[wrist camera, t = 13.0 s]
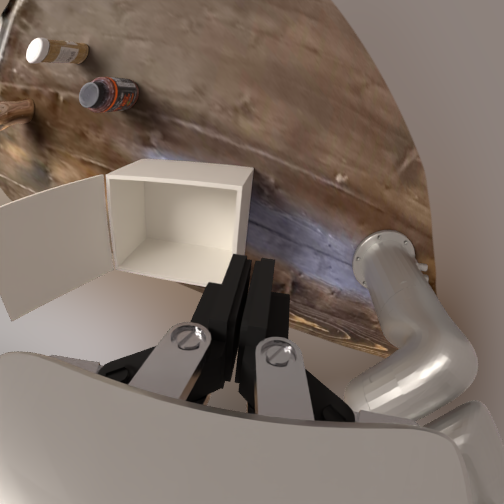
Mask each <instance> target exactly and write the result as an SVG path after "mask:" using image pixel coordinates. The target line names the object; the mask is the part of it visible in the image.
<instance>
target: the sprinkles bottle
mask: <svg viewBox="0 0 504 504" xmlns="http://www.w3.org/2000/svg"><path fill="white" fill-rule="evenodd" d="M87 55H88V46H87V45H86V44H85V43H75V42H69V41H57V40H48V39H46V38H36V39H34V40H33V41H32V42H31V44H30V45H29V47H28V49H27V54H26V58H27V61H28V62H29V63H39V62H49V63H75V64H79V63H82V62H83V61H84V60H85V59H86V57H87Z"/></svg>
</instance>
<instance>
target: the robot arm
mask: <svg viewBox="0 0 504 504" xmlns="http://www.w3.org/2000/svg"><path fill="white" fill-rule="evenodd" d="M378 236H379V237H378ZM357 257H358V258H357ZM251 262H252V260H248V259H247V256H245V255H239V254H233V256H232V258H231V261H230V263H229V266H228V269H227V271H226V274H225V276H224V279H223V282H222V284H218V283H212V282H208V284H207V286H206V288H205V290H204V293H203V295H202V297H201V299H200V302H199V304H198V306H197V309H196V311H195V313H194V315H193V317H192V320H191V322H183V323H179V324H176V325H175V326H172V327H171V328H170V329H169V330H168V331H167V333H166V334H165V335H164V337H163V338H162V340H161V341H160V342H159V343H158V345H157V346H155V347H152V348H149V349H146V350H144V351H141V352H138V353H135V354H132V355H129V356H126V357H123V358H120V359H117V360H114V361H111V362H109V363H107V364H105V365H104V366H101V365H100V363H99V362H94V361H86V360H80V359H74V358H68V357H62V356H56V355H55V356H54V355H52V356H45V355H42V354H37V353H31V352H19V351H17V352H8V353H5V354H2V355H0V504H504V446H503V443H502V441H501V438H500V435H499V432H498V430H497V427H496V425H495V422H494V420H493V418H492V416H491V414H490V412H489V410H488V409H487V407H486V406H485V405H484V404H483V403H482V402H480V401H476V400H475V401H469V402H467V403H465V404H462V405H460V406H458V407H456V408H455V409H453V410H451V411H449V412H448V413H446V414H444V415H442V416H441V417H439V418H437V419H435V420H433V421H432V422H430V423H428V424H426V425H424V426H419V425H418V424H417V423H416V422H415V421H417V420H419V419H421V418H424V417H425V416H427V415H429V414H431V413H433V412H434V411H436V410H438V409H439V408H441V407H442V406H444V405H446V404H448V403H449V402H451V401H452V400H454V399H455V398H457V397H458V396H459V395H460V394H462V393H463V392H464V391H465V390H466V389H467V388H468V387H469V386H470V384H471V383H472V382H473V380H474V378H475V377H476V374H477V370H478V360H477V355H476V353H475V350H474V348H473V346H472V345H471V343H470V342H469V340H468V339H467V338H466V336H465V335H464V334H463V333H462V331H461V330H460V329H459V328H458V327H457V326H456V324H455V323H454V322H453V320H452V319H451V318H450V317H449V315H448V314H447V312H446V311H445V309H444V308H443V306H442V305H441V303H440V301H439V300H438V298H437V296H436V295H435V293H434V291H433V290H432V288H431V286H430V285H429V283H428V280H429V278H428V275H425V274H422V272H421V271H427V268H428V266H427V264H422V263H421V264H420V263H418V262H417V260H416V259H415V251H414V247H413V245H412V243H411V242H410V240H409V239H408V238H407V237H406V236H405V235H403V234H402V233H400V232H398V231H394V230H382V231H378V232H375V233H373V234H371V235H369V236H368V237H366V238H365V239H364V240H363V241H362V242H361V243H360V244H359V246H358V247H357V249H356V251H355V253H354V256H353V261H352V267H353V272H354V275H355V277H356V279H357V281H358V282H359V283H360V284H361V285H362V286H364V287H365V288H367V289H368V290H369V293H370V296H371V298H372V301H373V304H374V307H375V310H376V313H377V316H378V319H379V323H380V326H381V329H382V332H383V334H384V336H385V337H386V339H387V340H388V341H389V342H390V343H391V344H393V345H394V346H396V347H398V348H400V349H399V350H397V351H396V352H394V353H393V354H392V355H390V356H389V357H387V358H386V359H384V360H382V361H381V362H379V363H378V364H376V365H374V366H373V367H371V368H369V369H368V370H366V371H365V372H363V373H361V374H360V375H358V376H357V377H355V378H354V379H352V380H351V381H350V382H349V384H348V385H347V387H346V389H345V392H344V401H343V400H341V399H340V398H339V397H338V396H337V395H335V394H334V393H333V392H332V391H331V390H329V389H328V388H327V387H326V386H325V385H323V384H322V383H321V382H320V381H319V380H318V379H316V378H315V377H314V376H313V375H312V374H311V373H310V372H308V371H307V370H306V369H305V367H304V362H303V357H302V353H301V350H300V348H299V347H298V346H297V345H296V344H295V343H294V342H292V341H291V340H289V339H288V330H289V303H290V295H289V294H283V293H276V292H271V290H272V282H273V273H274V265H275V260H272V259H265V258H262V259H261V261H256V262H255V266H254V270H253V275H252V279H251V283H250V288H249V280H250V271H251ZM248 288H249V292H248ZM238 346H239V347H238ZM237 350H238V356H237V367H236V375H235V382H236V383H240V384H239V393H240V394H241V395H242V396H243V397H244V398H245V400H246V401H247V404H246V413H243V412H237V411H232V410H226V409H221V408H215V407H211V406H207V404H208V402H209V400H210V397H211V393H212V392H214V391H216V390H218V389H220V388H222V389H223V387H224V383H225V381H229V382H230V380H231V377H232V372H233V368H234V364H235V358H236V355H237Z"/></svg>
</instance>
